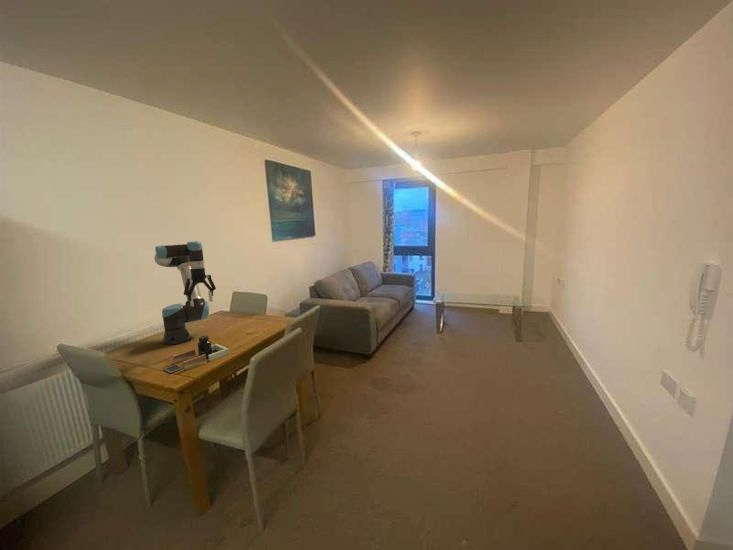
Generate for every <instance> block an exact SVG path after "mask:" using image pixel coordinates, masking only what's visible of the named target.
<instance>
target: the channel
mask: <svg viewBox="0 0 733 550" xmlns="http://www.w3.org/2000/svg"><path fill="white" fill-rule="evenodd" d="M172 361H173V365H175V364H177V365H178V364H180V363H182V364H183V370H184V371H189V370H191V369H194V368H197V367H200V366H202V365H204V364H206V363H208V359H206V355H205V354H203V355H201V356H199V355H198V356H196V349H195V348H192V349H190V350H186V351H184V352H180V353H177V354H174V355H172Z"/></svg>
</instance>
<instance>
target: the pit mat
mask: <svg viewBox="0 0 733 550" xmlns="http://www.w3.org/2000/svg"><path fill="white" fill-rule="evenodd" d="M183 370H184V367H180V366H179V365H178V364H173V365H170V366H168V367H167V366H166V367H164V368H163V371H165V372H166V373H168V374H170V375H172V374H174V373H177V372H179V371H183Z"/></svg>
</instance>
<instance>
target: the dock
mask: <svg viewBox="0 0 733 550" xmlns="http://www.w3.org/2000/svg"><path fill="white" fill-rule="evenodd" d="M211 346H212V354H210V355H208V357H209V359H208V361H210V362H211V361H214V360H216V359H220V358H221V357H224V356H226V355H229V354H230V350H229V348H228V347H225V346H222V345H220V344H218V343H214V344H211ZM213 351H216V352H213ZM197 354H198V356H199V353H198V352H197Z"/></svg>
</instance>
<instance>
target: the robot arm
mask: <svg viewBox="0 0 733 550" xmlns="http://www.w3.org/2000/svg"><path fill="white" fill-rule="evenodd" d="M154 261H155V263H156V264H157V265H159V266H161V267H165V268H176V269H177V270H178V271H180V275H181V280H182V283H183V288H184V290H183V295H184V296H186V297H185V298H186V301H185V305H184V304H183V303H174V304H171V305H167V306H166V307H164V308H163V309H162V310H161V313H162V316H161V317H162V321H163V322H162V323H163V327H164V329H163V330H164V332H163V337H162V342H163V345H166V346H172V345H179V344H182V343H185V342H187V341H189V340H190V339H191V334H190V332H189V330H188V329H187V326H186V324H188V323H193V322H197V321H202V320H206V319H208V318H209V315H210V307H209V306H210V305H209V302H211V303H213V302H214V300H213V296H214V291H215V290H216V289H217V288H216V285H215V284H214V281H213V279H212V275H211V274H206V269H205V259H204V252H203V243H202V241H197V240H196V241H193V240H192V241H188V242H187V243H184V244H171V245H170V244H168V245H156V246H155V255H154ZM206 279H207V280H206ZM207 281H208V282H207ZM199 284H204V286H205V287H206V288H207V289H208V300H209V302H208V301H206V300H205V298H203V297H202V294H201V291H200V287H199Z"/></svg>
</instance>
